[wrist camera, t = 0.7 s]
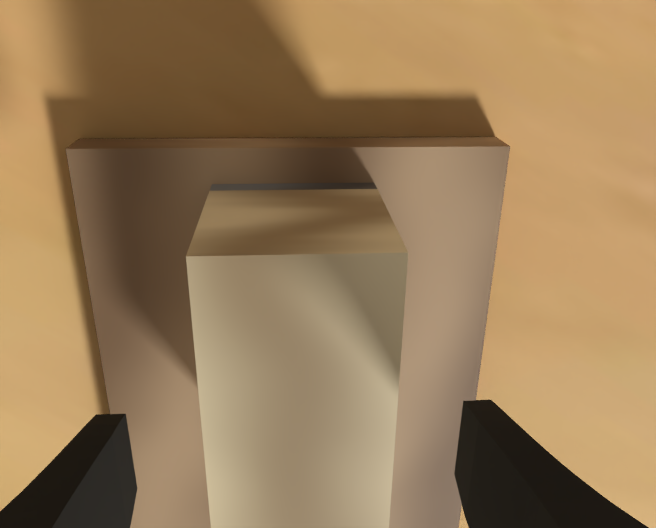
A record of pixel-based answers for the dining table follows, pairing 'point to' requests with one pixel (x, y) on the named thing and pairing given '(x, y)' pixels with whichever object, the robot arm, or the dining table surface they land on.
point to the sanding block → (297, 353)
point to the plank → (175, 312)
